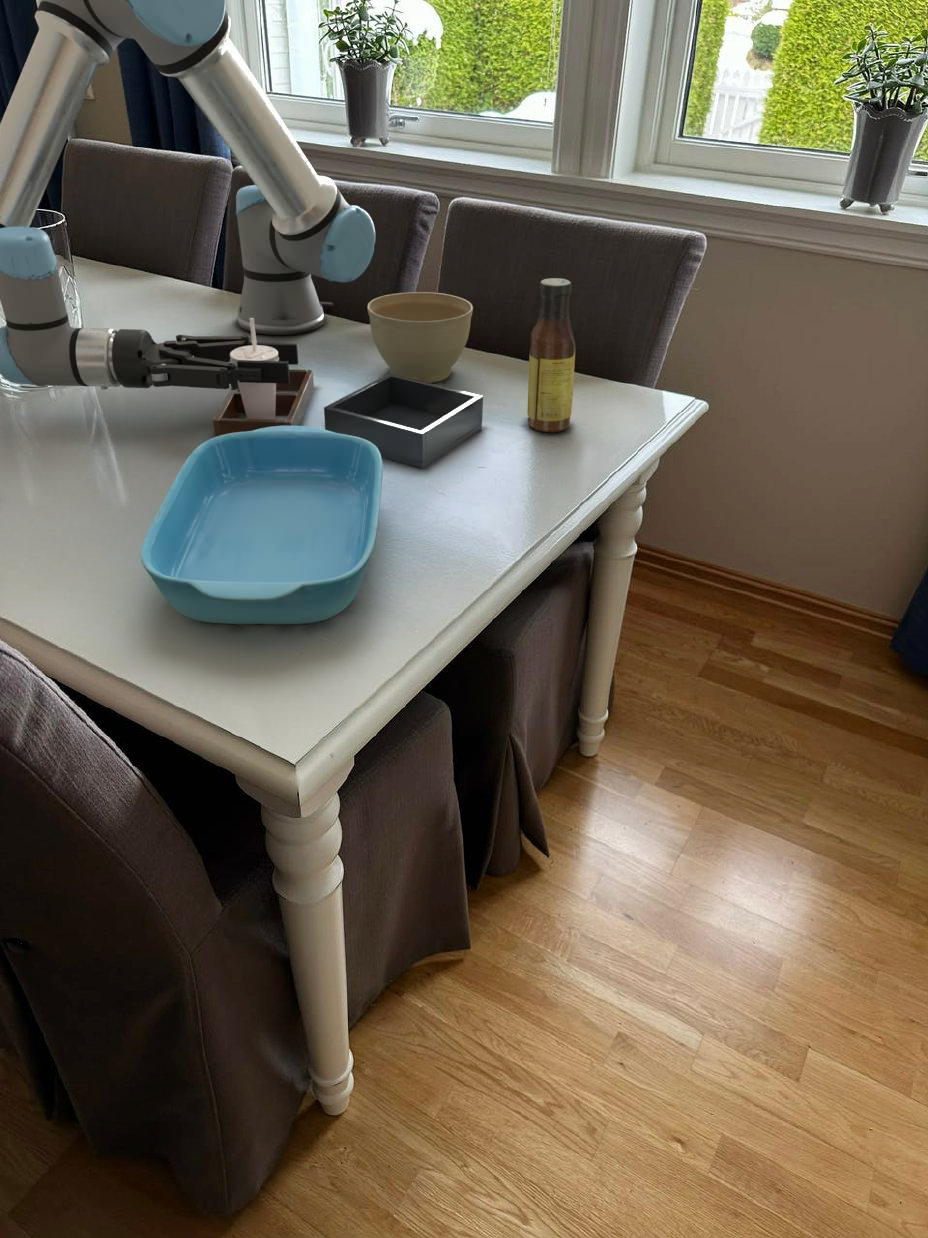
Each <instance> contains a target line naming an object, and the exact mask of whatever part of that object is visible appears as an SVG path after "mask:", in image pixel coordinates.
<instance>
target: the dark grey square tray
mask: <svg viewBox="0 0 928 1238" xmlns="http://www.w3.org/2000/svg"><path fill="white" fill-rule="evenodd" d="M483 408H484V396H483V395H482V394H481V395H480V394H476V393H472V392H468V391H465V390H460V389H456V388H451V387H448V386H444V385H439V384H435V383H428V382H423V381H419V380H415V379H411V378H407V377H403V376H399V375H395V374H391V372H390V373H387V374H386V375H384V376H382V377H380V378H378V379H376V380H374V381H372V382H369V384H366V385H364V386H362V387H361V388H359V389H356V390H355V391H353V392H351V393H349V394H347V395H345V396H343V397H341V398H339V399H337V400H335V401H334V402H332V403H329V404H328V405H325V406H324V407H323V419H324V430H328V431H331V432H334V433H339V434H345V435H350V436H355V437H359V438H362V439H365V440H367V441H369V442H371V443H372V444H374V445H375V446H376V447H377V448H378V450H379V452H380V454H381V458H384V459H388V460H391V461H395V462H399V463H402V464H406V465H409V466H411V467H416V468H418V469H421V470H422V469H425V468H426V467H427V466H429V465H431V464H432V463H433V462H435V461H436V460H437V459H439V458H440V457H442V456H444V455H445V454H446V453H448V452H449V451H451V450H452V449H454V448H455V447H456V446H458V445H460V444H461V443H463V442H464V441H466V440H467V439H468V438H470V437H471V436H473V435H474V434H476V433H478V432H479V431H480V430H482V429H483V415H484V414H483V413H484V409H483Z"/></svg>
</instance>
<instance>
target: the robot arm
mask: <svg viewBox="0 0 928 1238" xmlns="http://www.w3.org/2000/svg"><path fill="white" fill-rule="evenodd" d="M34 18H35V21H36V24H37V27H38V32H37V34H36V36H35V38H34V41H33V43H32V46H31V48H30V50H29V53H28V56H27V58H26V61H25V63H24V66H23V67H22V71H21V72H20V75H19V78H18V80H17V83H16V84H15V87H14V90H13V92H12V95H11V97H10V100H9V101H8V105H7V107H6V109H5V111H4V114H3V117H2V118H1V121H0V304H1V308H2V311H3V314H4V318H5V323H6V325H3V326H1V327H0V375H1V377H2V378H3V379H5V380H6V381H7V382H9V383H12V384H16V385H18V384H19V385H29V386H36V387H99V388H100V389H101V390H103V391H105V390H108V389H109V388H119V387H120V386H122V387H123V388H126V389H150V388H151V387H155V388H161V387H162V388H163V387H180V388H181V387H183V388H198V389H199V388H200V389H214V390H215V389H217V390H229V389H230V391H231V390H236V389H238V381H239V382H246V383H283V384H289V383H290V375H289V369H290V366H293V365H294V366H298V365H299V352H298V343H291V342H257V341H256V344H257V345H263V346H269V347H272V348H275V349H276V350H277V351H278V357H279V361H254V360H238V361H237V367H236V364H235V363H231V362H230V353H231V351H233V350H234V349H236V348H239V347H243V346H250V345H252V341H250V335H248V334H244V335H187V334H177V335H175V340H174V339H173V340H165V341H163V342H159V343H157V342H155V340H154V339H153V336H152V335H151V333H150V332H149V331H147V330H145V329H137V328H134V329H130V328H120V329H119V330H117V329H115V328H114V327H113V328H112V327H111V328H110V327H109V328H107V327H73V326H71V324H70V319H69V314H68V312H67V307H66V302H65V297H64V292H63V287H62V283H61V278H60V273H59V268H58V267H59V263H58V260H57V257H56V255H55V252H54V250H53V245H52V243H51V242H52V241H51V239H50V236H49V235H48V234H47V232H45V230H43V229H41V228H39V227H31V224H32V221H33V220H34V217H35V215H36V212H37V210H38V208H39V206H40V203H41V201H42V198H43V196H44V195H45V190H46V189H47V188H48V187H47V186H48V184H49V182H50V179H51V178H52V174H53V173H54V171H55V168H56V166H57V163H58V160H59V159H60V156H61V153H62V151H63V149H64V146H65V144H66V142H67V140H68V137H69V135H70V132H71V130H72V128H73V126H74V123H75V120H76V118H77V116H78V113H79V112H80V109H81V107H82V104H83V102H84V99H85V97H86V95H87V92H88V90H89V88H90V85H91V83H92V81H93V78H94V76H95V74H96V71H97V69H98V68H101V67H105V66H108V65H109V63H110V61H111V58H112V56H113V55H114V52H115V50H116V48H117V47H118V46H119V45H120V44H121V43H122V42H123V41H125V40H126V39H130V40H134V41H136V43H137V44H138V46H139V47H140V48H141V49H142V50H143V52H144V53H145V55H146V56H147V57H148V58H149V60H150V61H151V63H152V64H153V66H154V67H155V68H156V69H157V71H158V72H159V73H160V74H161V75H162V76H165V77H172V78H177V79H178V80H179V82H180V83H181V84H182V86H183V87H184V89H185V91H187V93H188V94H189V95H190V97H191V98H192V99H193V101H194V102H195V104H196V105H197V107H199V109H200V111H201V112H202V113H203V114H204V116H205V117H206V119H207V121H209V123H210V124H211V126H212V127H213V128H214V130H215V131H216V133H217V134H218V136H219V137H220V138H221V139H222V141H223V142H224V143H225V145H226V147H227V148H228V149H229V150H230V152H231V154H232V155H233V156H234V158H235V159H236V160H237V162H238V163H239V165H240V166H241V167H242V169H243V170H244V171H245V172H246V174H247V175H248V177H249V178H250V179H251V181H252V182H253V185H246V186H243V187H240V189H238V190H237V193H236V195H235V205H236V206H235V207H236V209H235V215H236V218H237V227H238V228H237V229H238V235H239V236H238V237H239V243H240V252H241V253H240V254H241V262H242V270H243V271H242V272H243V285H242V288H241V295H240V302H239V303H240V304H239V306H238V309H237V319H238V325H239V327H240V328H242V329H244V330H245V331H248V332H251V328H250V318H254V325H255V334H260V335H269V336H271V335H272V336H287V335H288V336H289V335H297V334H298V335H299V334H304V333H307V332H312V331H314V330H317V329H319V328H320V327H321V326H323V325H324V322H325V315H324V309H325V308H327V309H332V308H334V302H328V301H327V302H326V301H320V300H319V297H318V294H317V290H316V288H315V285H314V281H313V280H312V276H316V277H319V278H322V279H325V280H327V281H329V282H339V283H351V282H352V281H355V280H356V279H358V278H359V277H360V276H362V275H363V273H364V272H365V271H366V270H367V268H368V267H369V265H370V263H371V260H372V258H373V255H374V251H375V244H376V228H375V224H374V222H373V219H372V217H371V216H370V214H369V213H368V212H367V211H366V210H364V208H361V207H360V206H359V205H353V204H352V205H350V204H349V203H348V202H347V201H346V199H345V198H344V196H343V195H342V193H341V192H340V190H339V188H338V187H337V185H336V184H335V182H334V181H333V179H331V178H330V177H328V176H325V175H318V174H317V173H316V171H315V169H314V168H313V166H312V164H311V163H310V161H309V160H308V158H307V157H306V155H305V154H304V152H303V151H302V149H301V148H300V146H299V144H298V143H297V142H296V140H295V138H294V137H293V135H292V133H291V131H289V129H288V127H287V125H286V124H285V123H284V121H283V119H282V118H281V116H280V115H279V113H278V112H277V111H276V109H275V106H273V104H272V102H271V101H270V99H269V98H268V96H267V94H266V93H265V91H264V90H263V88H262V86H261V85H260V84H259V82H258V80H257V79H256V78H255V76H254V75H253V73H252V71H251V70H250V68H249V66H248V65H247V64H246V62H245V61H244V59H243V57H242V56H241V54H240V53H239V51H238V50H237V48H236V47H235V45H234V44H233V41H232V40H231V39H230V38H229V36H230V30H231V17H230V15H229V13H228V12H227V11H226V0H40V2H39V3H38V7H37V9H36V11H35V14H34ZM323 308H324V309H323Z"/></svg>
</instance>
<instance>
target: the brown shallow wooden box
mask: <svg viewBox="0 0 928 1238" xmlns="http://www.w3.org/2000/svg"><path fill="white" fill-rule="evenodd" d="M289 375H290V383H289V384H283V383H276V391H297V393H295V392H294V393H293V392H292V393H291V392H276V404H275V416H278V415H279V416H287V417H286V419H275V420H263V419H247V418H235V417H236V416H237V414H238V415H246V412H245V409H244V405H243V401H242V397H241V393H240V389H239V385H238V389H236V390H231V389H230V391H229V392H228V394H227V396H226V398H225V399H224V400H223V402H222V404H221V406H220V407H219V409H218V411H217V412H216V415H215V416H214V417H213V419H212V424H213V431H214V437H218V436H221V435H225V434H230V433H237V432H247V431H253V430H257V429H261V428H266V427H273V426H301V425H302V421H303V419H304V416H305V413H306V411H307V408H308V406H309V403H310V401H311V398H312V396H313V393H314V390H315V383H314V381H315V380H314V370H313V369H290V368H289Z"/></svg>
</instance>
